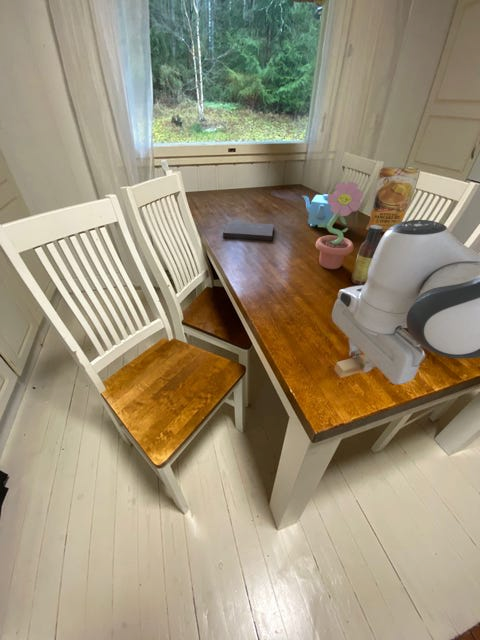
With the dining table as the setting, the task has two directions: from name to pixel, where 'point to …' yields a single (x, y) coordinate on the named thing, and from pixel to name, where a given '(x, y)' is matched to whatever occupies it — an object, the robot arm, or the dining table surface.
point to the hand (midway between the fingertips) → (359, 363)
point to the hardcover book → (249, 230)
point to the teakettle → (318, 210)
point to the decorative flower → (337, 246)
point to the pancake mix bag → (392, 196)
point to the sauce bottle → (366, 255)
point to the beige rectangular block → (350, 366)
